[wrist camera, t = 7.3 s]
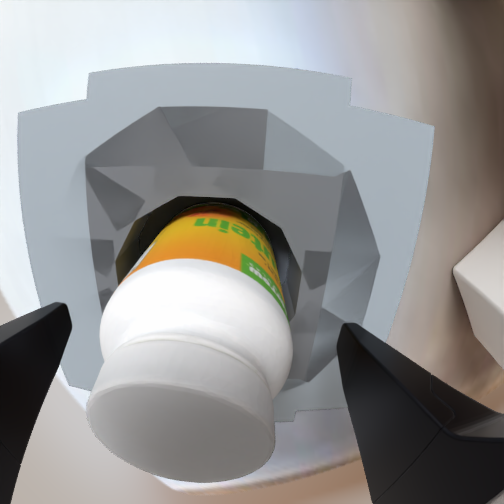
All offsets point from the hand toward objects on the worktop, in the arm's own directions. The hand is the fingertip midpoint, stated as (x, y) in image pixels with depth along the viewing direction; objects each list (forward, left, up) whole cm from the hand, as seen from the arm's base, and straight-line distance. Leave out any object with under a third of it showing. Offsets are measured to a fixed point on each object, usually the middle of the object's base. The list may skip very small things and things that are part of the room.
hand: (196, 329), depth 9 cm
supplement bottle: (0, 0, -6) cm, 6 cm away
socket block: (0, 0, -6) cm, 6 cm away
